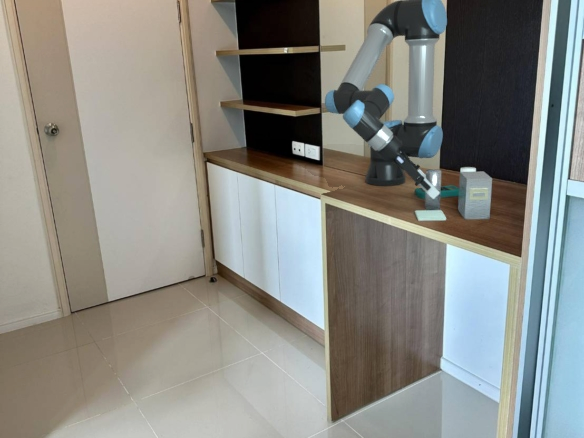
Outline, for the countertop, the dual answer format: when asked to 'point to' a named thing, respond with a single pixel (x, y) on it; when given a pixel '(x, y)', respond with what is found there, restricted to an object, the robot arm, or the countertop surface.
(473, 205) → the box
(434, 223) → the countertop surface
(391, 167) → the robot arm
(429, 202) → the clear drinking glass
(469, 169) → the cream canister
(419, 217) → the pad
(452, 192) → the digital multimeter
